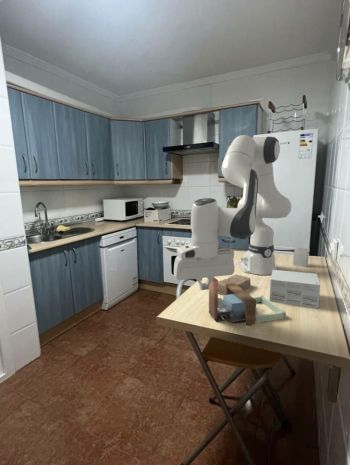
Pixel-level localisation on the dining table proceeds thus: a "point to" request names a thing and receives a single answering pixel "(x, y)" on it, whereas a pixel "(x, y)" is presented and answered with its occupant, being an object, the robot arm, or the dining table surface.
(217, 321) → the dark grey flat block
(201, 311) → the dining table surface
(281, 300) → the supplement box
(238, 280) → the brick
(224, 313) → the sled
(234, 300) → the block
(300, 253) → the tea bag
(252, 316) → the tunnel
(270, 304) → the green hollow frame
